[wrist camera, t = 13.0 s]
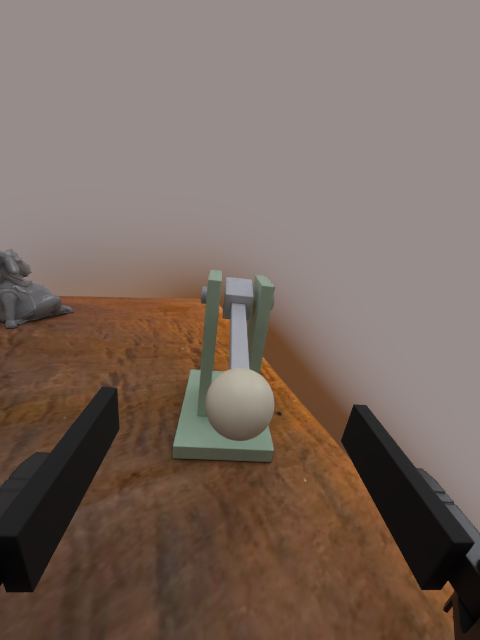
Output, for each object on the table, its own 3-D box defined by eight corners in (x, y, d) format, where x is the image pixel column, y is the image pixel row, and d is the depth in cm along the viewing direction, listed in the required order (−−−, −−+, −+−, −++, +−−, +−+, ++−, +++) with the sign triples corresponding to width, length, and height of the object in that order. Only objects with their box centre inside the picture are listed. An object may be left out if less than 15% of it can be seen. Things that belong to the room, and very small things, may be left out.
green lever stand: (271, 462, 20) (308, 301, 15) (172, 458, 19) (179, 287, 15) (255, 383, 30) (274, 271, 26) (190, 378, 30) (197, 262, 25)
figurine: (77, 313, 44) (72, 251, 40) (7, 329, 35) (-8, 252, 32) (49, 302, 47) (41, 244, 43) (-22, 314, 38) (-39, 243, 35)
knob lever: (270, 455, 13) (287, 418, 11) (200, 452, 12) (203, 413, 10) (253, 308, 23) (260, 274, 21) (215, 304, 23) (218, 269, 21)
